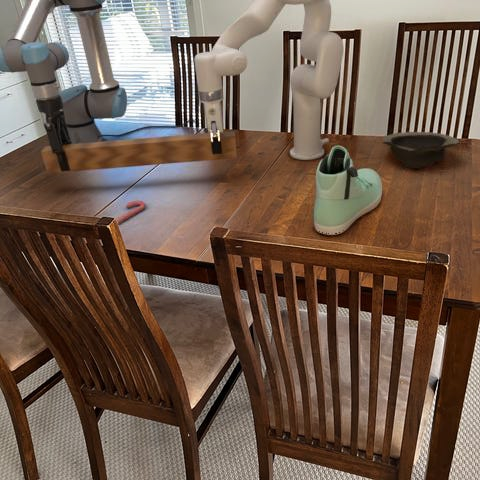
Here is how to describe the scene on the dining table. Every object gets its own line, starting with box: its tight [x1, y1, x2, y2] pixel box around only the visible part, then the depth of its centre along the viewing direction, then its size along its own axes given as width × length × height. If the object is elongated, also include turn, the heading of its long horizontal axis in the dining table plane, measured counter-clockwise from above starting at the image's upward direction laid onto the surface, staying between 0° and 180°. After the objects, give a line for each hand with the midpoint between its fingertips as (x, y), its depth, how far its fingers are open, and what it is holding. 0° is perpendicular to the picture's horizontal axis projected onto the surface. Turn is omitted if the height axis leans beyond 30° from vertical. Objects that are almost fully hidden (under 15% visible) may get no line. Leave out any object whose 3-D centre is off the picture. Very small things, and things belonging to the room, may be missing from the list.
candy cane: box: [115, 200, 146, 225], centre depth 145 cm, size 6×15×2 cm, turn 145°
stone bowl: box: [381, 131, 461, 169], centre depth 164 cm, size 25×25×9 cm
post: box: [40, 130, 238, 174], centre depth 157 cm, size 62×5×8 cm, turn 92°
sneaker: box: [313, 145, 383, 236], centre depth 133 cm, size 14×35×20 cm, turn 152°
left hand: (68, 167), depth 159 cm, fingers closed on post, 5 cm apart
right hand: (217, 149), depth 158 cm, fingers closed on post, 5 cm apart
